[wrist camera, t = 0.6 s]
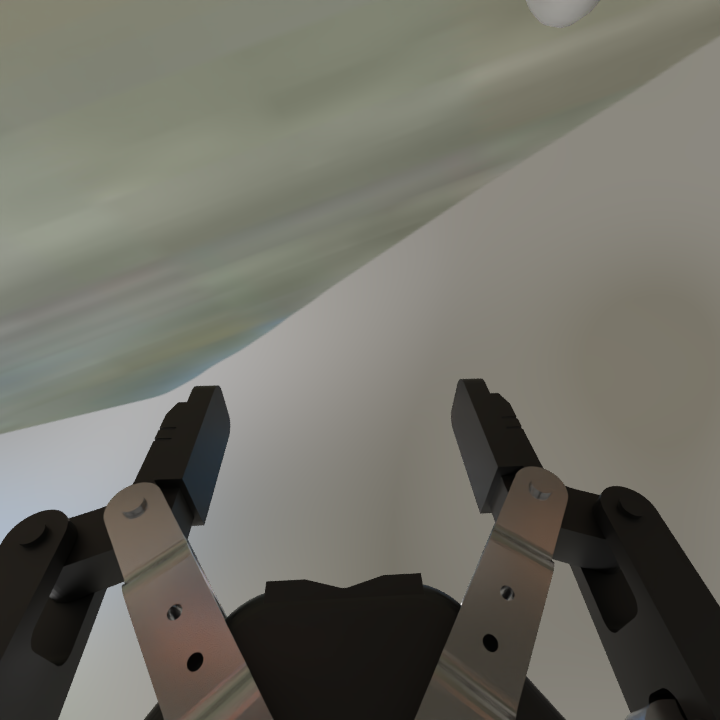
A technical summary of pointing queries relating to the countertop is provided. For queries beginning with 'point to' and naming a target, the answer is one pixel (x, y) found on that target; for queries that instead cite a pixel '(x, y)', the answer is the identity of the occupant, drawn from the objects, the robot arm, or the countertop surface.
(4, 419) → the countertop surface
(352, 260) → the countertop surface
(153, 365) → the countertop surface
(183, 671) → the robot arm
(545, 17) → the donut
